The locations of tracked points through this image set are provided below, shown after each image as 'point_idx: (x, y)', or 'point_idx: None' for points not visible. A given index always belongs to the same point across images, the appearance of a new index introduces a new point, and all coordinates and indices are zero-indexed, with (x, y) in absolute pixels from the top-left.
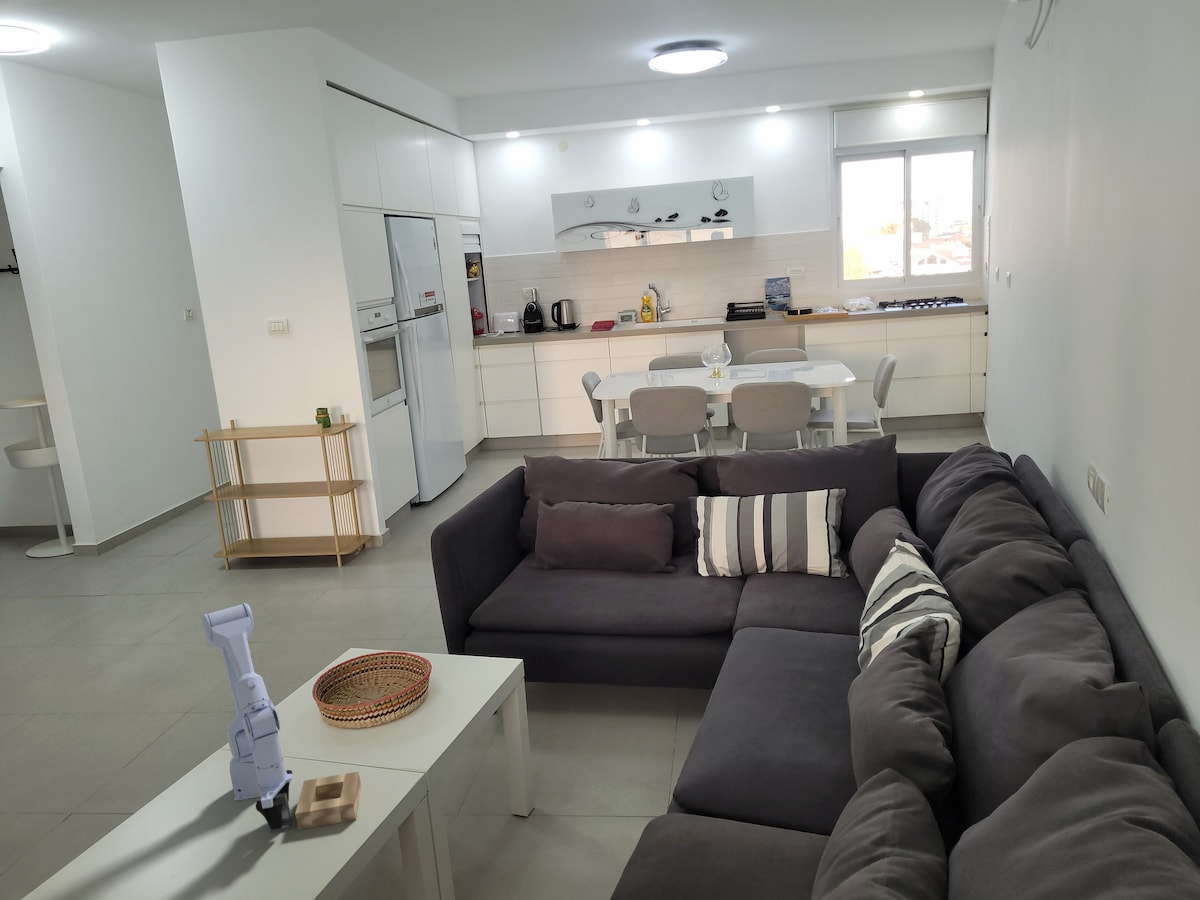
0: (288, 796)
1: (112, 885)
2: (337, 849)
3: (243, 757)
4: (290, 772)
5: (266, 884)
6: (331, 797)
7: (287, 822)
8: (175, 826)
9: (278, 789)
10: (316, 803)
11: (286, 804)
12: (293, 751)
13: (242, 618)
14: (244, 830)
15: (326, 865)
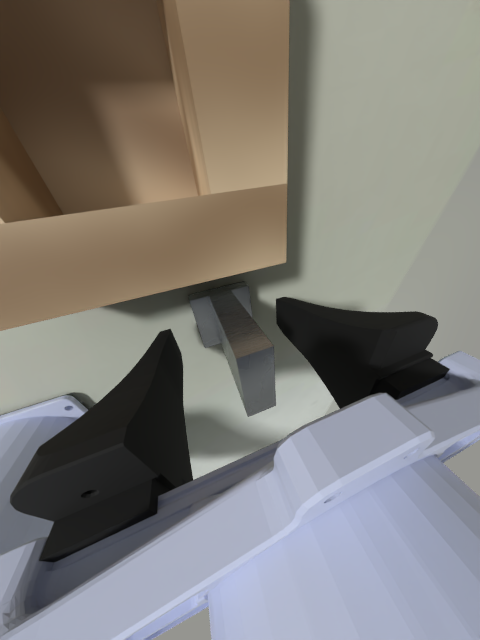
0: (157, 346)
1: None
2: (398, 18)
3: None
4: (61, 477)
5: (404, 257)
6: (12, 130)
7: (237, 295)
8: (209, 463)
9: (469, 412)
10: (223, 151)
11: (254, 321)
12: None
13: None
14: (230, 379)
15: (446, 72)
